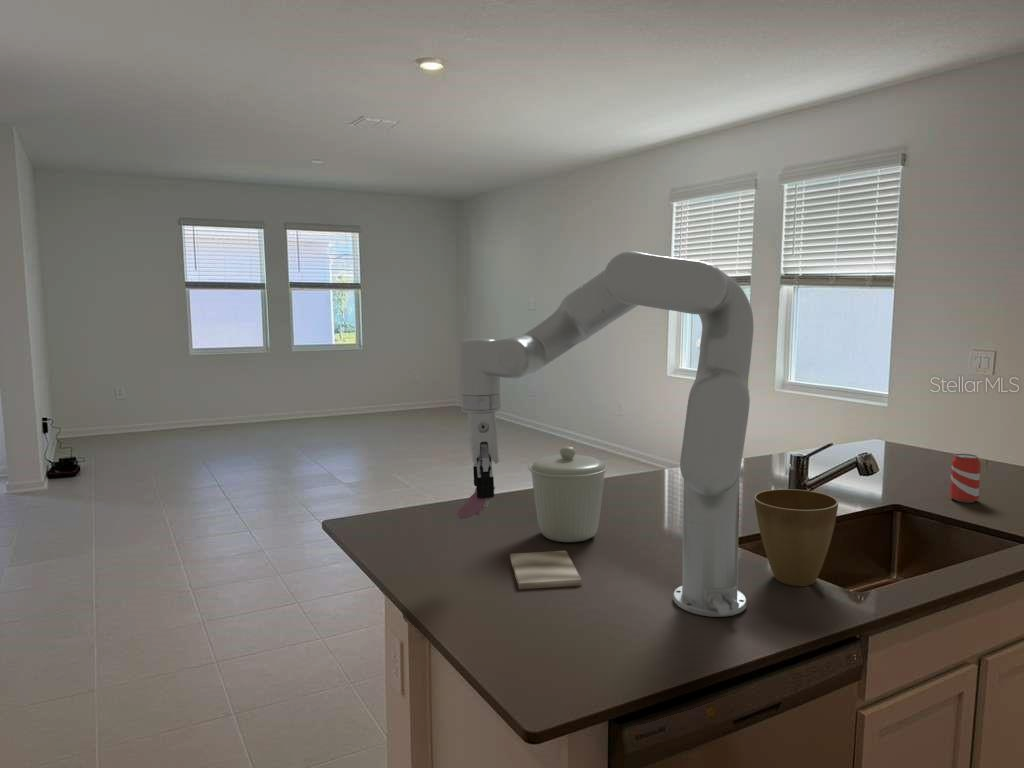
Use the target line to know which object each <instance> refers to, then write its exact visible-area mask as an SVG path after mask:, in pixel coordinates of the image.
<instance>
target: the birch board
mask: <svg viewBox="0 0 1024 768" xmlns="http://www.w3.org/2000/svg"><path fill="white" fill-rule="evenodd" d="M509 558H510V559H509V560H510V562H511V566H512V570H513V573H515V574H514V576H515V579H516V583H517V586H518V589H519V590H530V589H545V588H546V589H547V588H548V589H549V588H562V587H579V586H582V578H581V576H580V574H579V572H578V570H577V569H576V566H575V565H574V563H573V561H572V559H571V557H570V556H569V554H568V552H567V550H551V551H536V552H532V551H531V552H515V553H509Z"/></svg>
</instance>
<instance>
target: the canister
mask: <svg viewBox="0 0 1024 768" xmlns="http://www.w3.org/2000/svg"><path fill="white" fill-rule="evenodd" d="M528 470H529V471H530V473H531V480H532V487H533V496H534V504H535V511H536V517H537V524H538V527H539V528H538V529H539V530H540V532H541V534H542V535H543V537H545V538H546V539H548V540H551V541H555V542H559V543H560V542H561V543H578V542H579V543H580V542H584V541H587V540H590V539H591V538H593V537H594V536H595V534H597V531H598V529H599V523H600V517H601V508H602V499H603V492H604V483H605V473H606V472H607V471H608V465H607V464H606V463H604V462H603V461H601V460H599V459H598V458H596V457H592V456H590V455H582V454H576V449H575V448H574V447H573V446H568V445H567V446H566V445H565V446H563V447H561V449H560V450H559V454H554V455H548V456H543V457H541V458H537V459H536V460H535V461H533V462H532V463H530V464H528Z"/></svg>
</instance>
